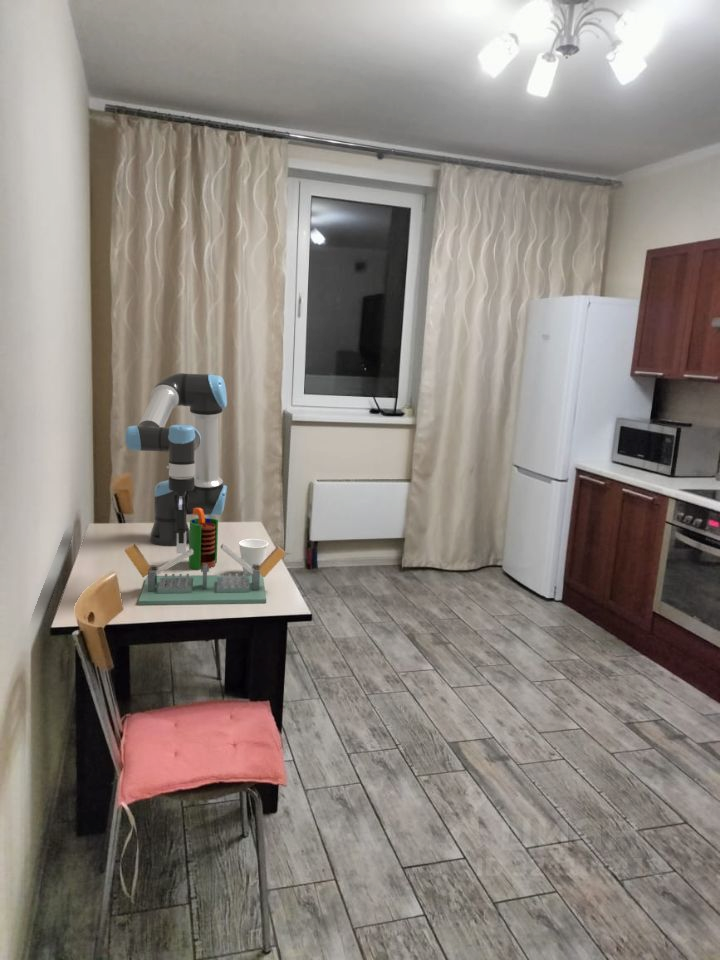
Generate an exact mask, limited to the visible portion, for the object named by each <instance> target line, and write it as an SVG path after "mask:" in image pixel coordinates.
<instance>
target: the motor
mask: <svg viewBox="0 0 720 960" xmlns="http://www.w3.org/2000/svg"><path fill="white" fill-rule="evenodd" d="M193 515H194V516H198V517H197V518H192V519H190V520H189V530H190V533H189V542H188V543H189V544H188V545H189V546H188V550H190V549H193V551H194V552H193V554H192V555H191V556H189V557H188V567H189V568H191V569H192V570H198V571H201V566H203V563H207V566H209V569H212V568H211V567H213V568H215V567H216V564H217V562H218V539H219V538H218V535H219V534H218V532H219V528H218V527H219V520H218V519H216V518H211V517H205V515H204V512H203V509H202V508H194V509H193Z"/></svg>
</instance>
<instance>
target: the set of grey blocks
mask: <svg viewBox="0 0 720 960" xmlns="http://www.w3.org/2000/svg"><path fill="white" fill-rule="evenodd" d="M149 565H150V566H151V568H152V569H153V570H151V571H148V575H147V576H148V592H155V586H157V576H158V575H156V576H155V570H156V569H157V568H158V564H149ZM258 567H259V564H253V568H254V569H257V568H258ZM200 572H201V573H202V575H203V589H207V575H208V573H209V572H210V568H209V566H207V563H203V566H201V569H200ZM189 575H190V573H186V578H182V576H183V573H179V575H178V576H179V578H175V576H176V575H175V573H172V575H171V576H172V578H167V576H168V574H167V573H165V574H164V575H163V576H164V578H161V579H160V583H159V586H158V594H161V593H192V588H193V578H189ZM221 575H222V577H217V593H235V592H250V584H249V577H245V573H242V575H243V577H238V575H239V573H237V572H235V575H236V577H231V575H232V573H228V575H229V577H224V575H225V573H221ZM259 582H260V570H253V574H252V585H253V590H259Z"/></svg>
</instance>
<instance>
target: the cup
mask: <svg viewBox="0 0 720 960" xmlns="http://www.w3.org/2000/svg"><path fill="white" fill-rule="evenodd" d="M238 545H239V552H240V558H241V559H243V560H244V561H245V562H246V563H248V564H249V565H250V566H251V567H253V564H259V566H260V565H261V564H262V562H263V561H264V560H265V559H266V555H267V550H268V546H269V542H268V541H267V540H264V539H260V538H247V539H243V540H240V541H238ZM242 572H243V573H245V575H252V574H251V573H250V572H249V571H248V570H246V569H245V568H244V567H243V566H242ZM243 573H242V574H243Z"/></svg>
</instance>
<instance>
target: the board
mask: <svg viewBox="0 0 720 960" xmlns="http://www.w3.org/2000/svg"><path fill="white" fill-rule="evenodd" d="M186 575H187V574H186ZM186 575H182V578H186ZM164 576H165V575H157V586H155V592H148V575H147V576H146V578H145V582H144V584H143V587H142V591H141V594H140V596H139V598H138V606H157V605H158V606H159V605H161V606H162V605H163V606H164V605H165V606H166V605H168V606H169V605H208V604H209V605H220V604H221V605H223V604H224V605H225V604H226V605H230V604H267V596H266V595H267V593H266V587H265V580H264V577H263V576H262V575H260V582H259V590H253V585H252V575H245V577H249V584H250V592H235V593H217V577H222V574H217V575H216V574H215V575H214V574H213V575H211V574H210V575H209V574H207V589H203V574H201V575H198V574H197V575H191V574H189V578H193V588H192V593H161V594H158V586H159V583H160V579H161V578H164ZM224 577H229V574H224ZM231 577H236V574H231ZM238 577H243V574H238ZM167 578H172V575H167ZM175 578H179V575H175Z"/></svg>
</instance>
